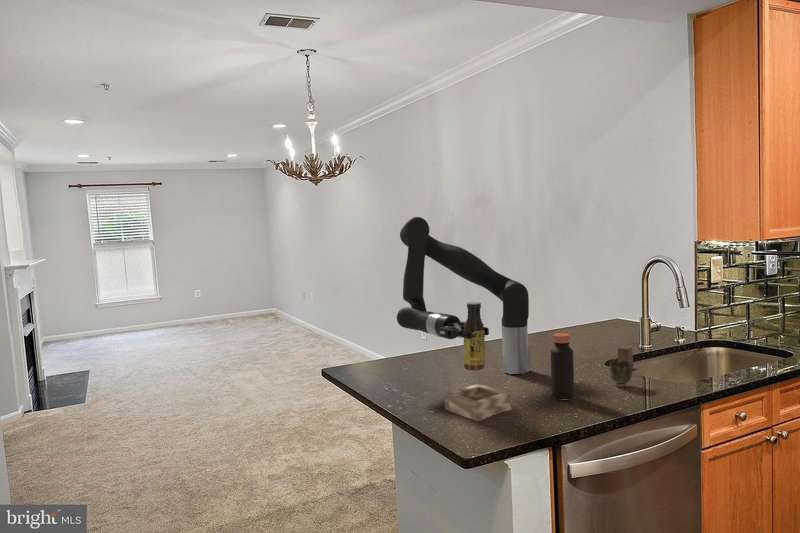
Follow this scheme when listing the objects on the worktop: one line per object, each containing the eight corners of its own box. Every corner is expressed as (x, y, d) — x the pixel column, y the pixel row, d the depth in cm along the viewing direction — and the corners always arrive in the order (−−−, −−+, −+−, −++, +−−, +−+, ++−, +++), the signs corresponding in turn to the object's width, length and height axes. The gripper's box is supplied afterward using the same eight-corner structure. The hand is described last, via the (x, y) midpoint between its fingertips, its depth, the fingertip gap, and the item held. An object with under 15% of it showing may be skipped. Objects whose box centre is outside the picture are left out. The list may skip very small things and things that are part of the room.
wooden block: (617, 369, 211) (617, 347, 211) (622, 366, 214) (622, 345, 213) (628, 371, 209) (628, 348, 208) (633, 368, 211) (632, 346, 211)
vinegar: (570, 402, 179) (569, 337, 177) (548, 399, 183) (547, 336, 181) (576, 395, 185) (575, 333, 183) (555, 392, 188) (554, 331, 186)
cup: (633, 383, 194) (632, 360, 193) (634, 390, 187) (633, 366, 186) (609, 382, 196) (608, 359, 195) (609, 389, 189) (609, 365, 189)
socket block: (478, 399, 186) (477, 383, 185) (511, 410, 174) (510, 393, 174) (444, 409, 178) (444, 393, 177) (476, 421, 166) (476, 404, 166)
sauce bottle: (471, 372, 171) (469, 305, 168) (459, 367, 176) (457, 302, 174) (490, 368, 174) (487, 303, 171) (477, 364, 179) (475, 300, 177)
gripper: (424, 317, 181) (460, 324, 167) (459, 310, 189) (497, 317, 176) (425, 340, 182) (461, 350, 168) (460, 333, 190) (497, 341, 176)
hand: (479, 333), depth 172 cm, fingers closed on sauce bottle, 6 cm apart
